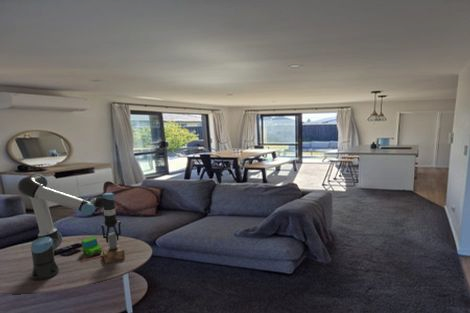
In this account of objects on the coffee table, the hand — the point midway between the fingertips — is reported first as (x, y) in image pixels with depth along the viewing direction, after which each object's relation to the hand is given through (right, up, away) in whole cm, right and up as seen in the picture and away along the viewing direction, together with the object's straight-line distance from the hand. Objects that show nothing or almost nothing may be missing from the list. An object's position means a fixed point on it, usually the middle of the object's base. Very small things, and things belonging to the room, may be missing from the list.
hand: (112, 245), depth 212 cm
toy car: (-19, -9, +9) cm, 23 cm away
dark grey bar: (0, -6, +1) cm, 6 cm away
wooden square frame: (0, -9, +1) cm, 9 cm away
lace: (-15, -9, +1) cm, 17 cm away
